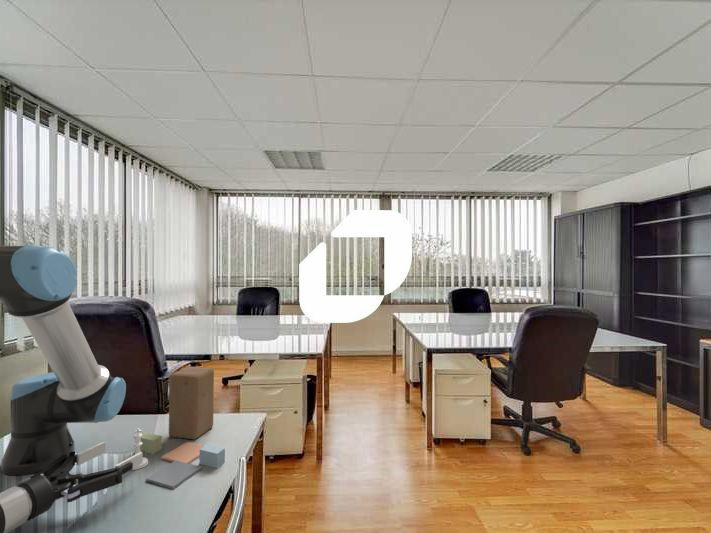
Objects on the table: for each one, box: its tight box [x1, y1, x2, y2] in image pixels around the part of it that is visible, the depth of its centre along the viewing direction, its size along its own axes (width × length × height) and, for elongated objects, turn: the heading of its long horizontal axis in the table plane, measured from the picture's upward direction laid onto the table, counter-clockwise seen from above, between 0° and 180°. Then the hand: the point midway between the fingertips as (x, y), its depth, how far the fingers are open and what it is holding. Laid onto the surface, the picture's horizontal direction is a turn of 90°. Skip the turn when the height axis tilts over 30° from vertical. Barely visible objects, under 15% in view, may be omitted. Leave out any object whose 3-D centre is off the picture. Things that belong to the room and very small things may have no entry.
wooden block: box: [168, 366, 215, 440], centre depth 116 cm, size 10×10×20 cm
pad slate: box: [145, 460, 202, 490], centre depth 92 cm, size 9×9×1 cm
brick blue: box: [198, 444, 226, 469], centre depth 98 cm, size 6×3×4 cm, turn 70°
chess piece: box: [131, 427, 149, 471], centre depth 97 cm, size 5×5×10 cm
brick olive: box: [140, 432, 163, 455], centre depth 104 cm, size 6×3×4 cm, turn 70°
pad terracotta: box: [161, 441, 205, 464], centre depth 102 cm, size 9×9×1 cm
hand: (122, 452), depth 92 cm, fingers open, 13 cm apart
